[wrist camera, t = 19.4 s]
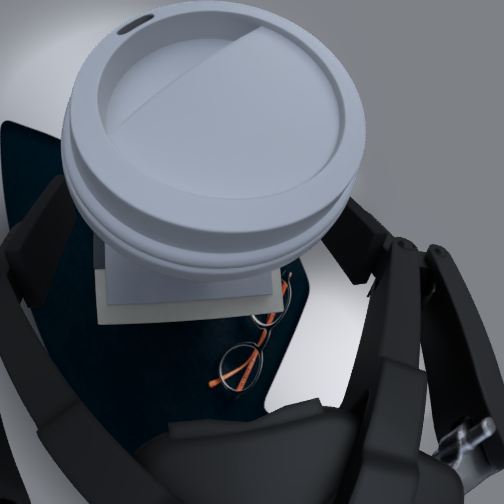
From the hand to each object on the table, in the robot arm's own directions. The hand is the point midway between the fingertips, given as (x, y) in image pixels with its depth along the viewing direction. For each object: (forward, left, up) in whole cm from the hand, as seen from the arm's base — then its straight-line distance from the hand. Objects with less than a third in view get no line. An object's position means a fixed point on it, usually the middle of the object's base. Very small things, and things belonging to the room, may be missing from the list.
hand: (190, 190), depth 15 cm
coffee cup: (0, 0, -6) cm, 6 cm away
